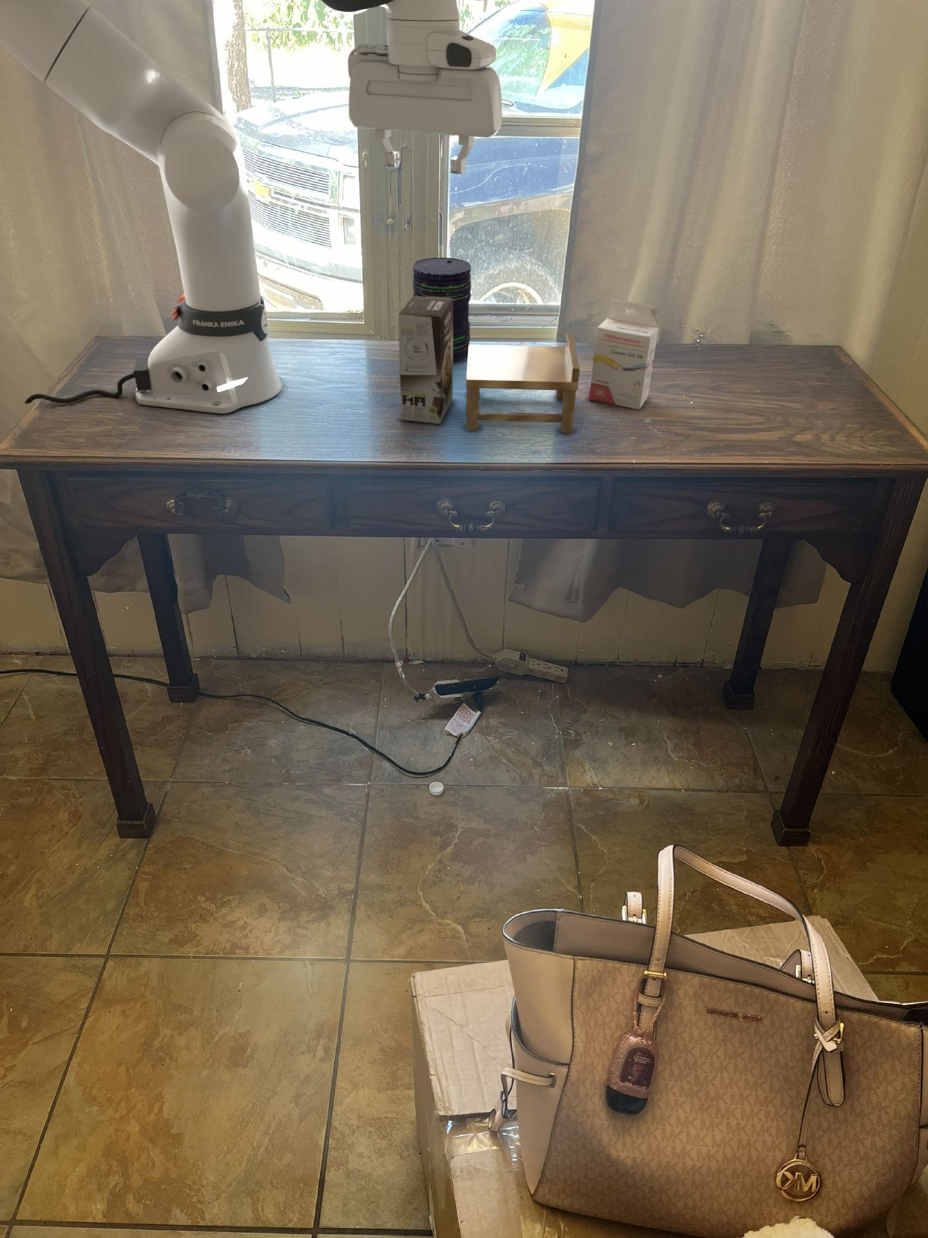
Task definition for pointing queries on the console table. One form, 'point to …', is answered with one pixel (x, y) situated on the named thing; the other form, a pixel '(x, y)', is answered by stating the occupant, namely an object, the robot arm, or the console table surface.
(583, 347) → the console table surface
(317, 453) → the console table surface
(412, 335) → the coffee box
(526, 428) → the console table surface
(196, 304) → the robot arm
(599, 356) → the ink cartridge box
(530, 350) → the miniature wooden bench
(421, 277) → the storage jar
